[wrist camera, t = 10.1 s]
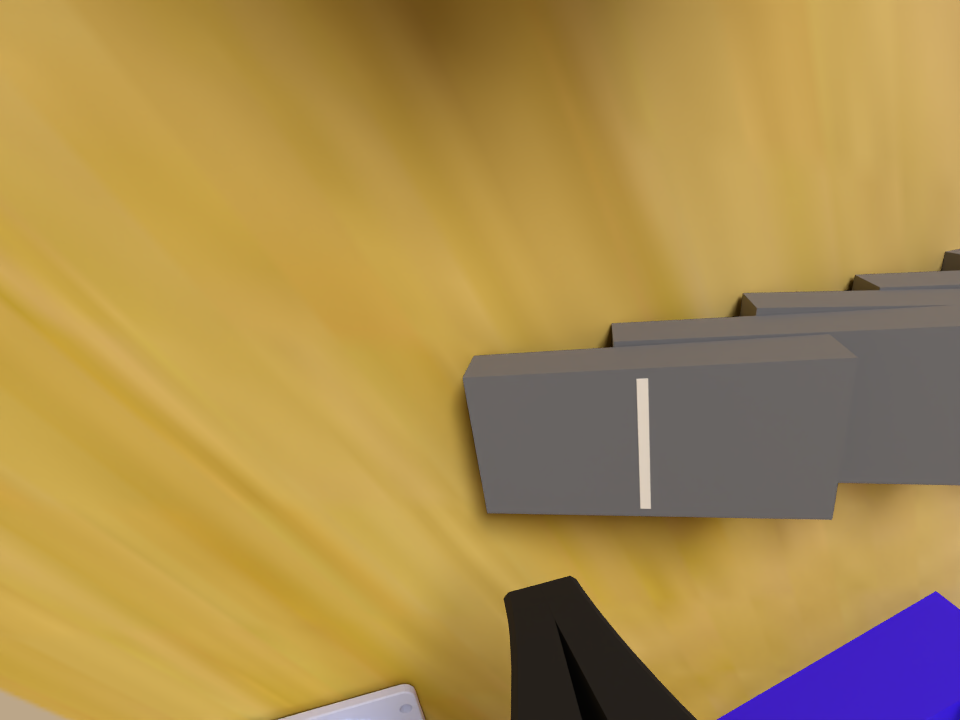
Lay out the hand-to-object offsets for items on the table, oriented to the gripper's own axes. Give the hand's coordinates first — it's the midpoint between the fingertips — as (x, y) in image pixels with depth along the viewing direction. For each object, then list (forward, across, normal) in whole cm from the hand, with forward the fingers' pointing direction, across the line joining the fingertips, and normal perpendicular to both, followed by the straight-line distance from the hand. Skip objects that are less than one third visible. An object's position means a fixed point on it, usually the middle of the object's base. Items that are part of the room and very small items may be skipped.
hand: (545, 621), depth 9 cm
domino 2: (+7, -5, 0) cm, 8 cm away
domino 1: (+7, 0, 0) cm, 7 cm away
